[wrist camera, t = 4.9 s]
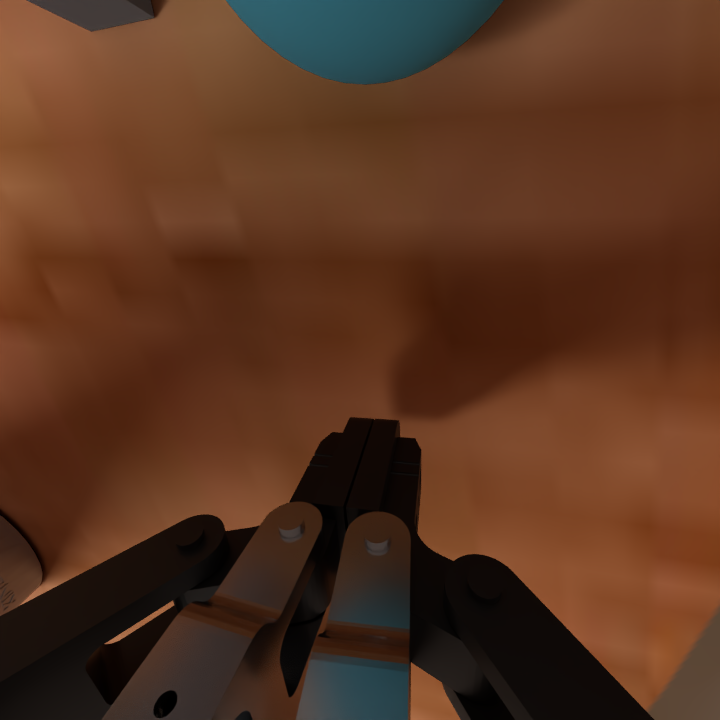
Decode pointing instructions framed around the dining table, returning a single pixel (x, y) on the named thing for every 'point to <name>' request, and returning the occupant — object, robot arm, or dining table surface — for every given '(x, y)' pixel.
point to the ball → (364, 33)
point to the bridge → (99, 11)
